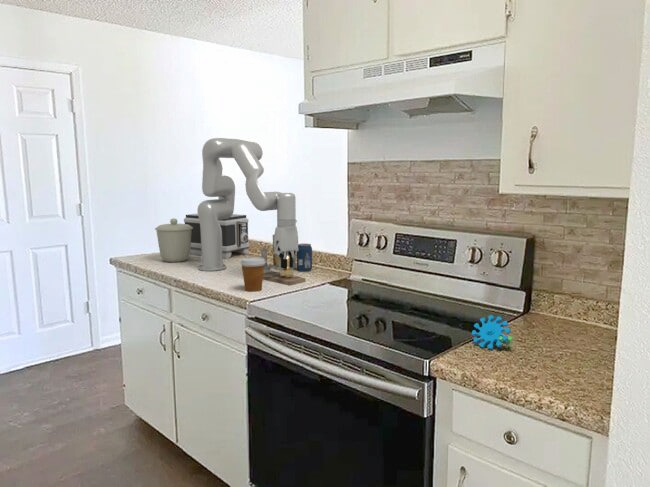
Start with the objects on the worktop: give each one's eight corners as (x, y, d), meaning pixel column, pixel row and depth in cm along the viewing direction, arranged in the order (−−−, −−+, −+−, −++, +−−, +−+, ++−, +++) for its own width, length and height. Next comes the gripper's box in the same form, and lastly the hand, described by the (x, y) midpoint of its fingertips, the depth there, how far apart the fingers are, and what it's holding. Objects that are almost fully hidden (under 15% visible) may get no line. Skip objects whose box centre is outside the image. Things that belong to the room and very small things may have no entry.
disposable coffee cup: (251, 294, 190) (251, 262, 188) (235, 289, 196) (235, 259, 194) (271, 289, 197) (270, 258, 195) (255, 285, 203) (254, 255, 201)
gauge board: (251, 276, 219) (250, 248, 218) (266, 273, 226) (266, 246, 224) (289, 285, 203) (289, 255, 202) (305, 281, 210) (305, 252, 208)
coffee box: (296, 267, 238) (296, 233, 235) (290, 270, 232) (290, 235, 229) (278, 266, 241) (278, 232, 239) (272, 269, 235) (272, 234, 233)
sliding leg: (276, 277, 209) (275, 256, 208) (287, 274, 214) (287, 254, 213) (282, 278, 207) (281, 257, 206) (293, 276, 212) (293, 255, 210)
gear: (463, 337, 138) (483, 308, 141) (470, 348, 142) (489, 319, 144) (499, 354, 130) (520, 323, 133) (505, 365, 134) (525, 335, 136)
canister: (148, 262, 250) (146, 219, 247) (172, 256, 267) (171, 216, 264) (178, 265, 243) (176, 221, 240) (201, 258, 260) (200, 217, 257)
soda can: (302, 268, 237) (302, 242, 235) (314, 270, 233) (314, 244, 231) (293, 271, 231) (293, 244, 229) (306, 272, 227) (306, 246, 225)
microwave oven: (232, 260, 257) (231, 218, 254) (184, 253, 274) (182, 214, 271) (255, 254, 272) (255, 215, 269) (208, 249, 290) (207, 212, 287)
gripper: (294, 221, 216) (294, 263, 219) (265, 224, 205) (266, 269, 207) (306, 222, 211) (307, 266, 214) (277, 225, 200) (278, 272, 202)
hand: (286, 267), depth 211 cm, fingers closed on sliding leg, 2 cm apart
